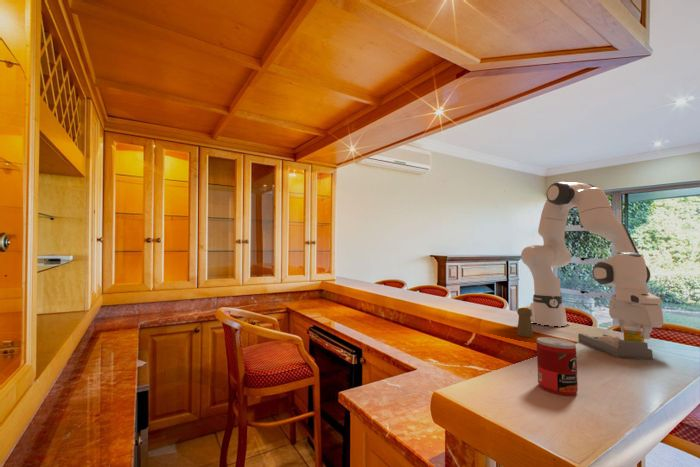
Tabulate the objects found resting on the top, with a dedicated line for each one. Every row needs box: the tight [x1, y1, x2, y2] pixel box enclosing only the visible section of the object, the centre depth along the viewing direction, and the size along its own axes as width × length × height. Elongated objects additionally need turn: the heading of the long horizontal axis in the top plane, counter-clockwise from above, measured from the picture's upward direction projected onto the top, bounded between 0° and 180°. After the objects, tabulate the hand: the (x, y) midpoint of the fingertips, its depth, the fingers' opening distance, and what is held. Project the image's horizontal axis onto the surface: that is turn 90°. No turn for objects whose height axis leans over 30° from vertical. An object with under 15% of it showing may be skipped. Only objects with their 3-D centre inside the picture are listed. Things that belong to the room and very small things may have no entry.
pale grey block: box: [596, 335, 621, 347], centre depth 108 cm, size 4×7×3 cm, turn 82°
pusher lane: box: [577, 332, 654, 361], centre depth 108 cm, size 21×10×5 cm, turn 172°
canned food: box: [536, 336, 579, 397], centre depth 73 cm, size 8×8×11 cm
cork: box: [516, 307, 534, 338], centre depth 128 cm, size 6×6×11 cm
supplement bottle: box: [622, 320, 645, 342], centre depth 110 cm, size 5×5×10 cm
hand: (634, 335), depth 110 cm, fingers open, 8 cm apart
